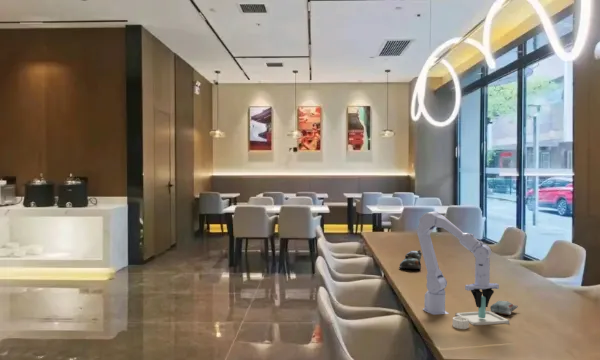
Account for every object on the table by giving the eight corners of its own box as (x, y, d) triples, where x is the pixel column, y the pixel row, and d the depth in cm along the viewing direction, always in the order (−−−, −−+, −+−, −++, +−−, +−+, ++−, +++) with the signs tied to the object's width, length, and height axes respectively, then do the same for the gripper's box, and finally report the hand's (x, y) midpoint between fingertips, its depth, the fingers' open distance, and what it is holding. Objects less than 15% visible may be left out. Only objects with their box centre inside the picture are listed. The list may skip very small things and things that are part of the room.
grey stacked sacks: (394, 268, 313) (398, 247, 319) (409, 274, 317) (412, 254, 323) (410, 265, 301) (413, 244, 306) (425, 271, 305) (428, 250, 310)
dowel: (476, 316, 207) (477, 296, 207) (483, 315, 208) (483, 295, 207) (480, 318, 204) (481, 297, 204) (486, 317, 205) (487, 297, 205)
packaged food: (517, 312, 219) (517, 300, 219) (510, 318, 210) (510, 306, 210) (497, 308, 224) (497, 298, 224) (489, 315, 215) (489, 303, 215)
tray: (455, 316, 211) (455, 313, 211) (488, 314, 215) (488, 310, 215) (474, 326, 198) (474, 323, 197) (509, 324, 201) (509, 320, 201)
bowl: (449, 326, 198) (449, 317, 198) (463, 325, 200) (463, 316, 200) (457, 330, 193) (458, 321, 192) (471, 329, 194) (471, 320, 194)
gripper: (472, 276, 200) (471, 310, 200) (503, 275, 204) (503, 308, 204) (462, 273, 207) (462, 305, 207) (493, 271, 210) (492, 303, 211)
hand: (481, 306), depth 206 cm, fingers closed on dowel, 3 cm apart
